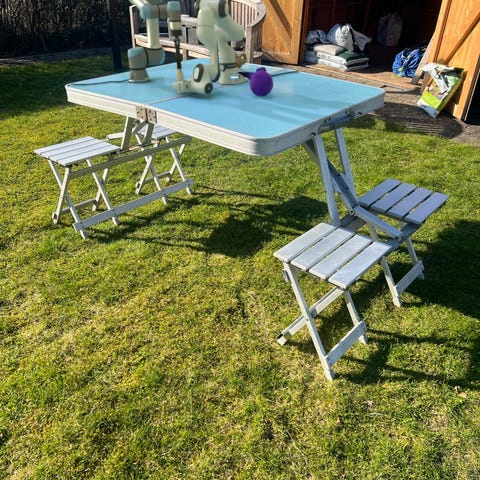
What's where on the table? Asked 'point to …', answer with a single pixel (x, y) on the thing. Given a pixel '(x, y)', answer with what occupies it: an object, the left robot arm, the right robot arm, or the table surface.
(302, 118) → the table surface
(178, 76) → the bottle
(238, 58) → the teapot
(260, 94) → the toy
